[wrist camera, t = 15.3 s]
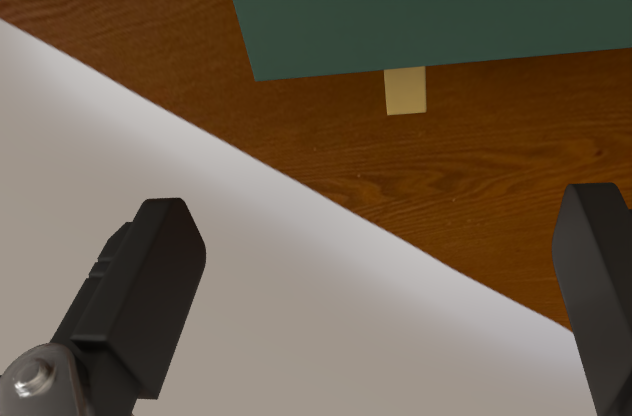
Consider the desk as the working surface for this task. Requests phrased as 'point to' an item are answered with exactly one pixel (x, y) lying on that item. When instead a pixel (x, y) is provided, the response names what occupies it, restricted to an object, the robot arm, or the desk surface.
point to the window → (405, 90)
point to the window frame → (420, 32)
